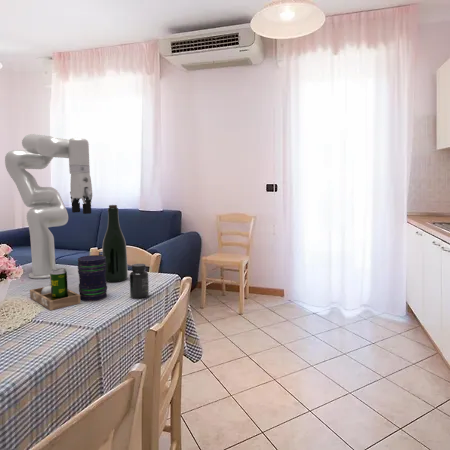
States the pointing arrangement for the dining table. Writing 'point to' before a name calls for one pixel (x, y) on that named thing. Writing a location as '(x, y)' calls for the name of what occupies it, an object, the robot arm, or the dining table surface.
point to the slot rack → (54, 304)
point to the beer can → (58, 283)
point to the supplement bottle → (139, 282)
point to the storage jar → (92, 277)
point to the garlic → (46, 290)
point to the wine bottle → (114, 248)
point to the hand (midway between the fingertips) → (81, 213)
